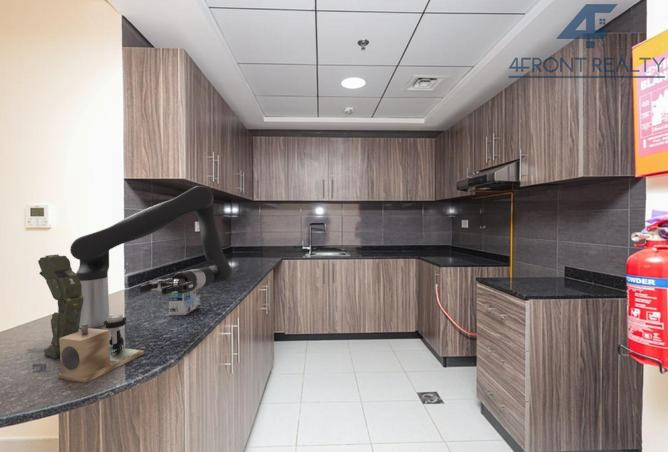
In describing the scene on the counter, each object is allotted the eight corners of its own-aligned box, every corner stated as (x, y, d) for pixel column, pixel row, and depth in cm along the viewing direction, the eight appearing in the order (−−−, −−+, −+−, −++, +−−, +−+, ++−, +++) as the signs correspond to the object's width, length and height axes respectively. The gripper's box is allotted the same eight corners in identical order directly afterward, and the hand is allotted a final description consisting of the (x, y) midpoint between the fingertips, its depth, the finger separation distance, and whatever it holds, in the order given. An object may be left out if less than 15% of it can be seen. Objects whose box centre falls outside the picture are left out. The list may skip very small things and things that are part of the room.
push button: (124, 355, 86) (122, 319, 86) (100, 359, 84) (99, 322, 84) (129, 346, 92) (128, 312, 92) (108, 349, 90) (106, 315, 90)
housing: (84, 383, 74) (82, 331, 74) (57, 378, 77) (55, 328, 76) (143, 354, 90) (141, 311, 89) (119, 351, 92) (117, 309, 92)
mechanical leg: (101, 349, 92) (79, 249, 93) (73, 360, 85) (51, 252, 86) (71, 354, 96) (51, 259, 98) (42, 365, 89) (21, 262, 91)
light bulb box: (185, 315, 125) (184, 288, 125) (168, 315, 125) (167, 288, 125) (197, 307, 136) (196, 282, 136) (181, 308, 136) (180, 283, 136)
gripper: (173, 269, 115) (133, 276, 100) (206, 271, 111) (170, 279, 96) (173, 289, 115) (133, 300, 100) (205, 292, 111) (170, 304, 96)
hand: (151, 290), depth 98 cm, fingers open, 8 cm apart
